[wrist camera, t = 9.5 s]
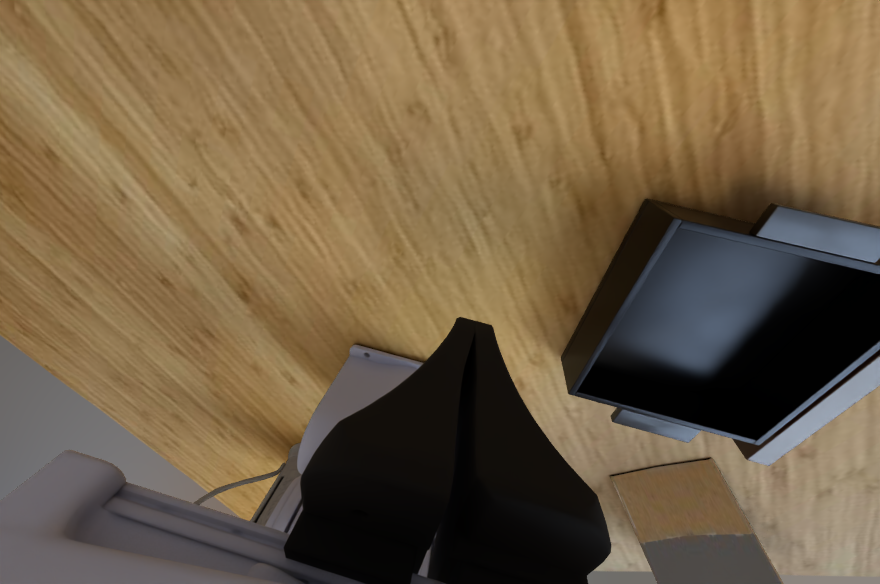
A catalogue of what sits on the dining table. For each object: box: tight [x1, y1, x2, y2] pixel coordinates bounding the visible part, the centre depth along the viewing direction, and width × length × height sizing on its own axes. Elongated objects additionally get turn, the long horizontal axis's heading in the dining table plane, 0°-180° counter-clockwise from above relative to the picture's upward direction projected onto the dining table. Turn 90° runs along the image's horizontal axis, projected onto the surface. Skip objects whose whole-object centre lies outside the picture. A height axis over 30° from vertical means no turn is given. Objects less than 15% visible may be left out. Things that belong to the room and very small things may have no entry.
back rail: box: [732, 350, 880, 466], centre depth 18 cm, size 2×16×3 cm, turn 170°
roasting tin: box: [561, 199, 880, 445], centre depth 18 cm, size 12×15×4 cm
